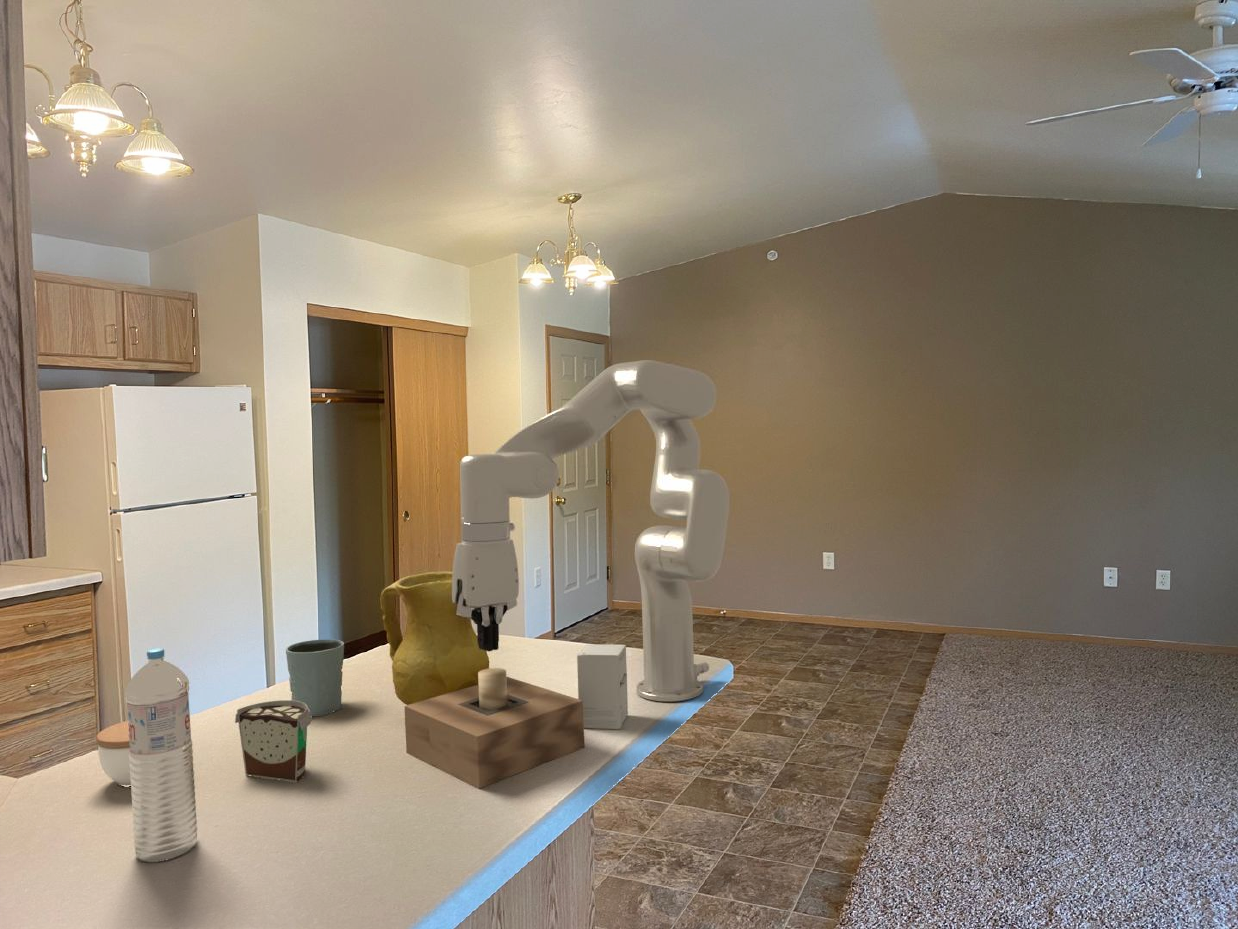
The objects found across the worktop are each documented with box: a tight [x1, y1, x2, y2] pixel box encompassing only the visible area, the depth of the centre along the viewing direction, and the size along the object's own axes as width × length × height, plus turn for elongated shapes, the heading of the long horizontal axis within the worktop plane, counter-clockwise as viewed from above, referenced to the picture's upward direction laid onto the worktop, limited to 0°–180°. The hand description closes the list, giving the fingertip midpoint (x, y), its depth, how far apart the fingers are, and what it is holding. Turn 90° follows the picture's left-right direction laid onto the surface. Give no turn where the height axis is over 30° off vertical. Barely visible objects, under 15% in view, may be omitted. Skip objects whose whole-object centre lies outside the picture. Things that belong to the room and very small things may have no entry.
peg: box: [478, 667, 508, 711], centre depth 130 cm, size 4×4×7 cm
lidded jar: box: [96, 720, 131, 786], centre depth 123 cm, size 11×11×9 cm
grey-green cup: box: [285, 638, 345, 717], centre depth 153 cm, size 10×10×12 cm
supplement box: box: [576, 643, 629, 730], centre depth 141 cm, size 7×7×13 cm
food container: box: [234, 699, 313, 783], centre depth 125 cm, size 12×6×10 cm, turn 71°
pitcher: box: [379, 571, 490, 706], centre depth 148 cm, size 17×19×25 cm
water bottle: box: [124, 647, 198, 863], centre depth 101 cm, size 7×7×25 cm
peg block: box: [404, 676, 585, 790], centre depth 130 cm, size 20×20×8 cm
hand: (488, 649), depth 129 cm, fingers closed
